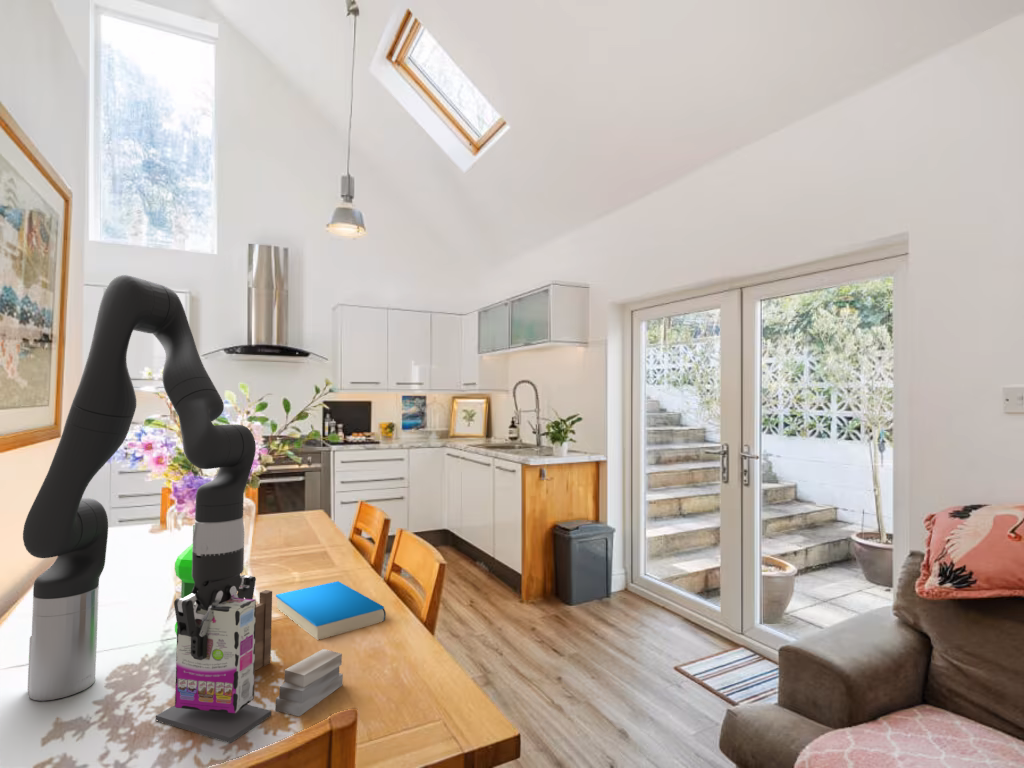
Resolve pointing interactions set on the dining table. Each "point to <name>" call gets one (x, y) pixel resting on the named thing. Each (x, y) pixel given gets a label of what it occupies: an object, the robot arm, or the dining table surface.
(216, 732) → the mat
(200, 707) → the candy bar box
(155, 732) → the dining table surface
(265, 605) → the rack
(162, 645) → the dining table surface
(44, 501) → the robot arm
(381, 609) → the book
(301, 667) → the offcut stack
